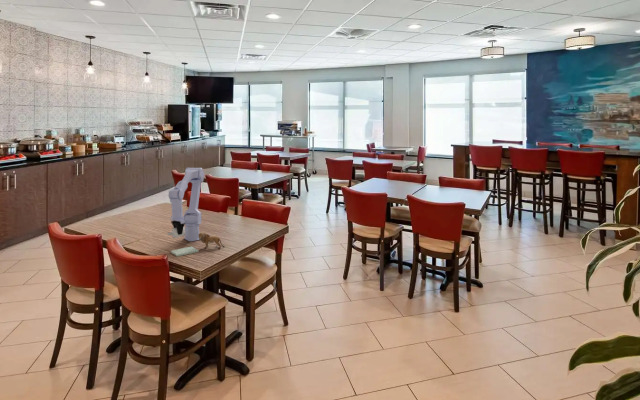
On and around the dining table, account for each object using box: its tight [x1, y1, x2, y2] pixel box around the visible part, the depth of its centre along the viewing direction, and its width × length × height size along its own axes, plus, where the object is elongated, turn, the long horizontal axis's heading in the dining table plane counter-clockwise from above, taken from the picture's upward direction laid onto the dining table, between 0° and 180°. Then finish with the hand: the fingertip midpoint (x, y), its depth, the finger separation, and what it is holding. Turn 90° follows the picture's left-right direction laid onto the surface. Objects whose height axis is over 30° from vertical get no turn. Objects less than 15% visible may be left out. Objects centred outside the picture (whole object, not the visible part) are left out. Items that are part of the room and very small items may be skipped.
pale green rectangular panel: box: [170, 245, 200, 258], centre depth 221 cm, size 9×12×1 cm
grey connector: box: [166, 226, 185, 239], centre depth 226 cm, size 3×9×5 cm, turn 131°
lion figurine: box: [198, 232, 225, 249], centre depth 229 cm, size 15×5×9 cm, turn 92°
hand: (178, 233), depth 227 cm, fingers closed on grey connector, 3 cm apart
